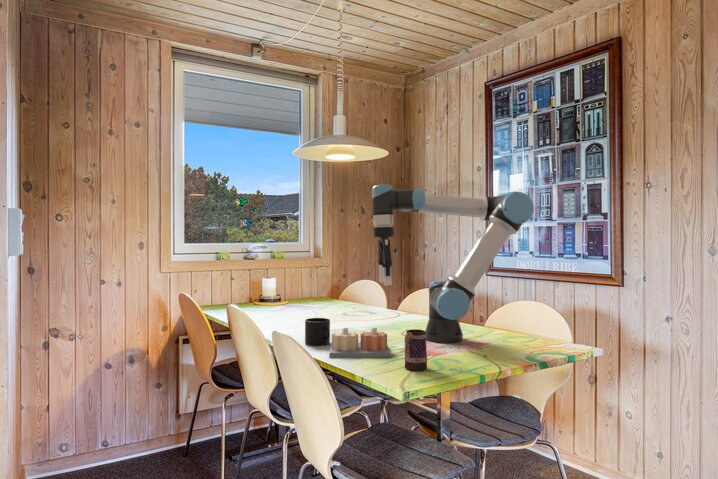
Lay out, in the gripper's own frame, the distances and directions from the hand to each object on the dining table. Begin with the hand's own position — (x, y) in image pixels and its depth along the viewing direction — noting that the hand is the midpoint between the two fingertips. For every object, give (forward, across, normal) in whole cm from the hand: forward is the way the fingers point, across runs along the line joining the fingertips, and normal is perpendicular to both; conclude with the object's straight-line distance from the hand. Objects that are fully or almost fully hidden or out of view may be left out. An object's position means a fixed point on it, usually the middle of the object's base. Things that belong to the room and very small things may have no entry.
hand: (385, 283), depth 186 cm
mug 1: (+23, -6, -25) cm, 35 cm away
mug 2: (+24, +33, +4) cm, 41 cm away
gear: (+22, +9, -6) cm, 24 cm away
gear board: (+23, +8, -11) cm, 27 cm away
